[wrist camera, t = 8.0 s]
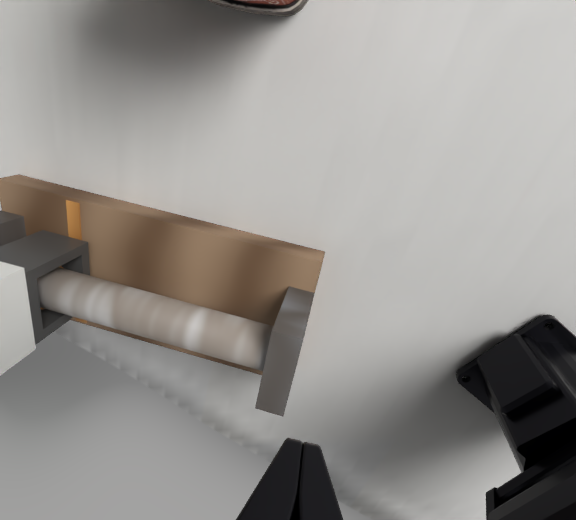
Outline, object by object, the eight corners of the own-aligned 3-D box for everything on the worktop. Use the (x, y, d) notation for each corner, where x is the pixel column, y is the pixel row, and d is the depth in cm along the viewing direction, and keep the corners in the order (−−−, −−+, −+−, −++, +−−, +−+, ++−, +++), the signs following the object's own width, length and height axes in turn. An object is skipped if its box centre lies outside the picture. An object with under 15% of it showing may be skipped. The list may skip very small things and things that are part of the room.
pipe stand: (325, 251, 21) (312, 303, 15) (294, 368, 24) (276, 442, 19) (18, 174, 22) (-91, 195, 17) (34, 294, 26) (-50, 342, 21)
